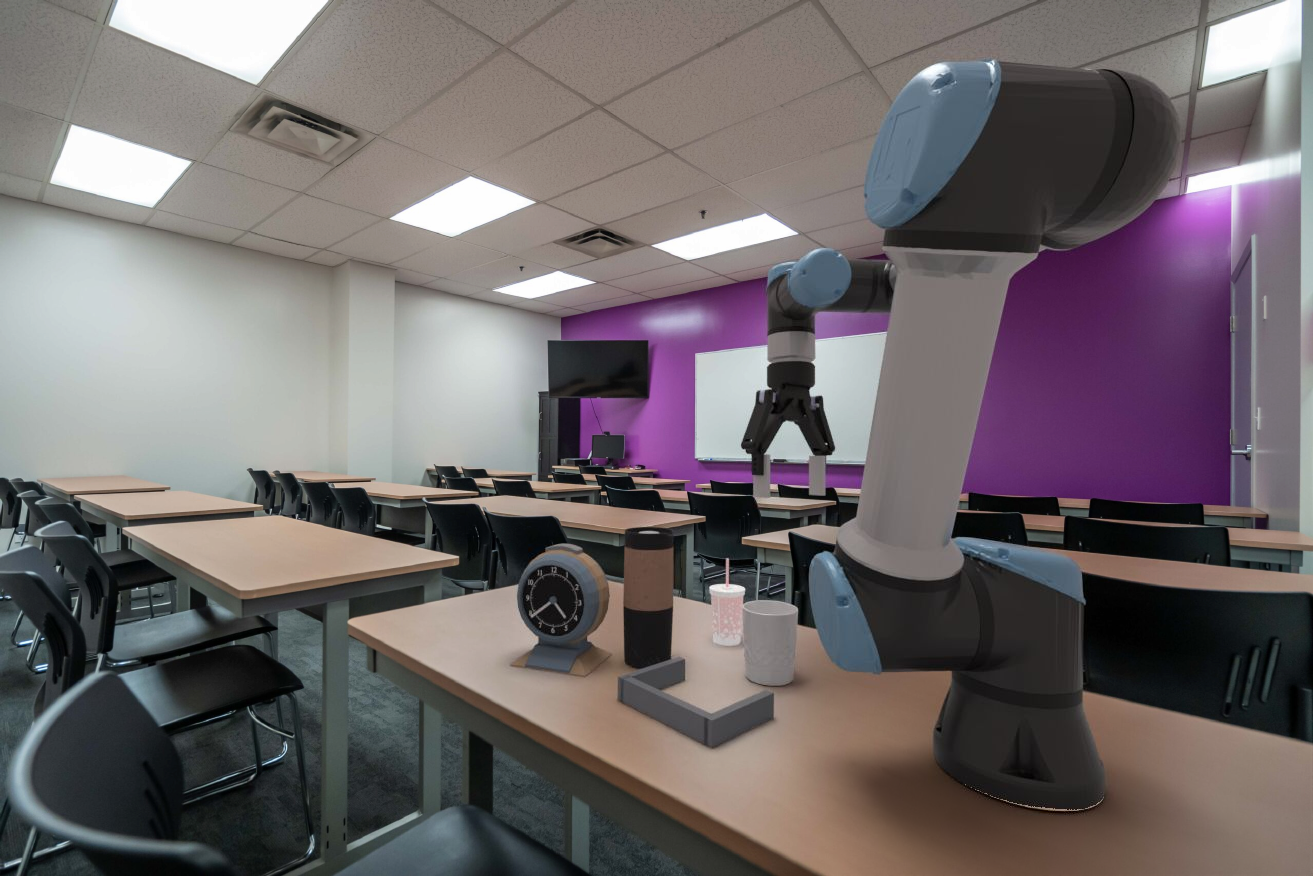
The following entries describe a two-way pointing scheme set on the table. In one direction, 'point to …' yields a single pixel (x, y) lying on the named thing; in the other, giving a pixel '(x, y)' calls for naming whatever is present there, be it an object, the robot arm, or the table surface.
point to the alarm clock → (563, 610)
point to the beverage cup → (726, 611)
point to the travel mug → (648, 596)
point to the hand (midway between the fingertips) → (790, 496)
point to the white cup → (769, 641)
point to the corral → (684, 717)
